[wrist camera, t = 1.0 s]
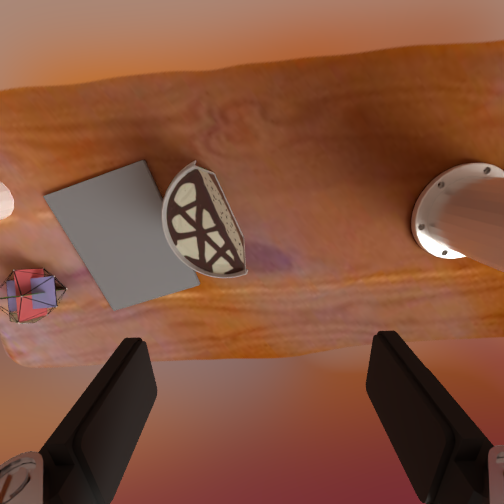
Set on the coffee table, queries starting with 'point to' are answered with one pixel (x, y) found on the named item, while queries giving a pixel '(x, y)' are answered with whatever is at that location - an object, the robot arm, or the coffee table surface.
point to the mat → (122, 235)
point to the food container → (202, 224)
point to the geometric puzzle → (30, 295)
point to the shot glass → (5, 202)
